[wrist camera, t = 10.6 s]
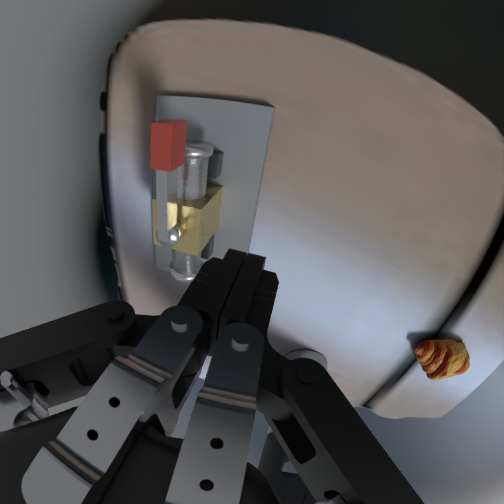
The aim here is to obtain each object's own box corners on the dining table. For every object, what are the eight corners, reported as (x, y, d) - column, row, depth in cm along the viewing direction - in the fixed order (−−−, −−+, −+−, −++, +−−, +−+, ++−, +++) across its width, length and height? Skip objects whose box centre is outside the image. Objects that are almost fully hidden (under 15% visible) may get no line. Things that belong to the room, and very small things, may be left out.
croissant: (470, 343, 45) (489, 357, 37) (448, 379, 46) (465, 396, 38) (418, 318, 44) (441, 333, 36) (392, 362, 45) (410, 383, 37)
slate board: (242, 287, 44) (239, 293, 43) (160, 263, 46) (156, 268, 45) (275, 107, 28) (273, 107, 27) (163, 95, 30) (157, 95, 29)
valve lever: (183, 242, 30) (172, 255, 28) (163, 236, 30) (151, 249, 28) (189, 120, 22) (175, 124, 20) (165, 118, 23) (149, 122, 20)
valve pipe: (215, 260, 41) (196, 292, 34) (179, 250, 41) (156, 280, 35) (229, 142, 31) (205, 155, 24) (184, 135, 31) (152, 147, 25)
